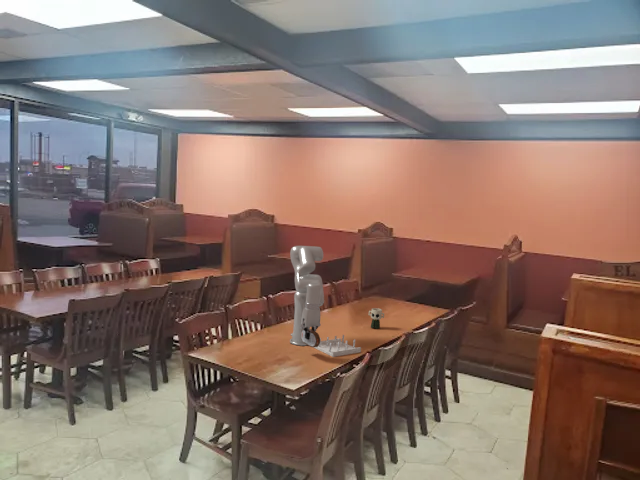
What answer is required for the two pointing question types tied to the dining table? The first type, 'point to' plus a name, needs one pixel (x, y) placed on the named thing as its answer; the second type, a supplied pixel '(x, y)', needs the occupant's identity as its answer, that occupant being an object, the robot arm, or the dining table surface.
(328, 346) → the dish rack
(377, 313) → the character mug
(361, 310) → the dining table surface
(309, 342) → the tin
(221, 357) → the dining table surface
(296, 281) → the robot arm
